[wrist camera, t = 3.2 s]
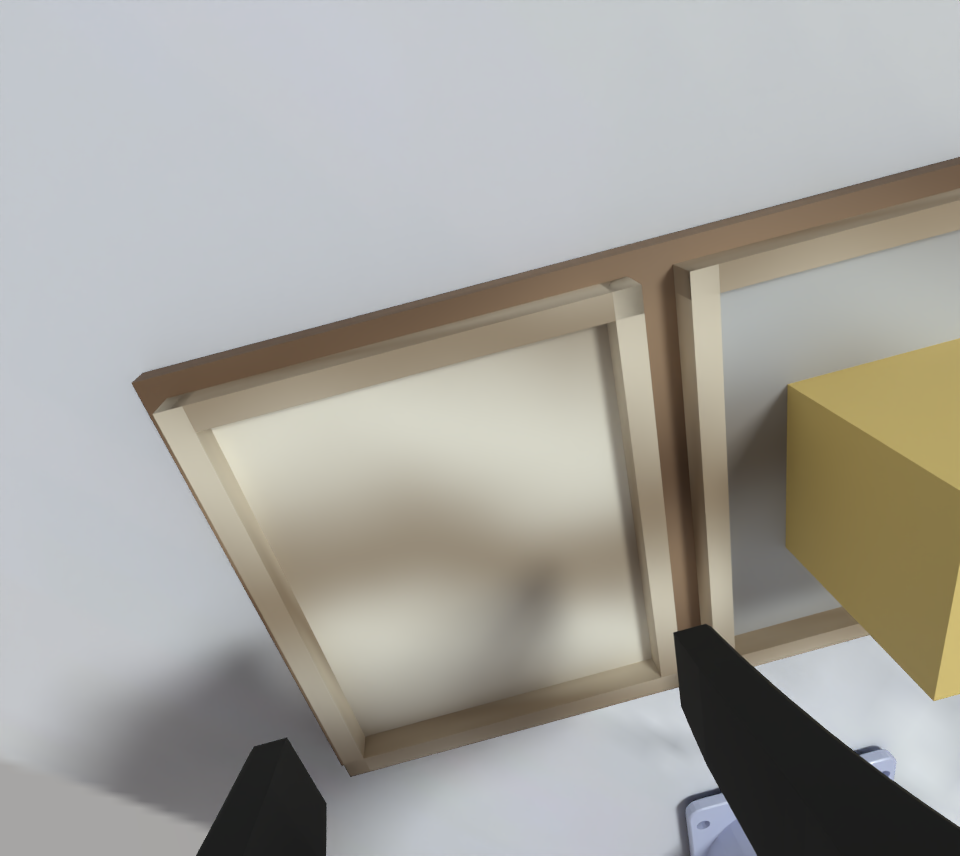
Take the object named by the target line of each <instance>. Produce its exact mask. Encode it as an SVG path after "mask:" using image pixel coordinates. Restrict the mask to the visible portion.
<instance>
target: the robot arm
mask: <svg viewBox="0 0 960 856" xmlns="http://www.w3.org/2000/svg"><path fill="white" fill-rule="evenodd" d="M673 635H674V645H675V654H676V663H677V672H678V681H679V691H680V700H681V707H682V709H683V712H684V714H685V716H686V719H687V721H688V723H689V726H690V728H691V730H692V733H693V735H694V737H695V740H696V742H697V744H698V746H699V749H700V751H701V753H702V755H703V757H704V760H705V762H706V764H707V766H708V768H709V770H710V772H711V773H712V775H713V777H714V779H715V781H716V783H717V784H718V786H719V788H720V790H721V792H722V793H720V794H716V795H713V796H709V797H705V798H702V799H698V800H695V801H693V802H691V803H690V804H689V805H688V806H687V808H686V811H685V812H686V821H687V829H688V837H689V846H690V854H691V856H960V827H959V826H957V825H956V824H954V823H953V822H951V821H950V820H948V819H947V818H945V817H944V816H943V815H941V814H940V813H938V812H937V811H935V810H934V809H932V808H931V807H929V806H928V805H927V804H925V803H924V802H922V801H921V800H919V799H918V798H916V797H915V796H914V795H912V794H911V793H909V792H908V791H907V790H905V789H904V788H903V787H901V786H900V785H898V784H897V783H896V782H894V775H895V768H896V759H895V758H894V757H893V756H892V754H891V753H890V752H889V751H888V750H883V749H881V750H876V751H872V752H868V753H865V754H861V755H858V754H857V753H856V752H854V751H853V750H852V749H851V748H849V747H848V746H847V745H845V744H844V743H843V742H842V741H840V740H839V739H838V738H837V737H835V736H834V735H833V734H832V733H830V732H829V731H828V730H827V729H825V728H824V727H823V726H822V725H820V724H819V723H818V722H817V721H816V720H814V719H813V718H812V717H811V716H810V715H808V714H807V713H806V712H805V711H804V710H802V709H801V708H800V707H799V706H798V705H796V704H795V703H794V702H793V701H792V700H790V699H789V698H788V697H787V696H786V695H785V694H784V693H782V692H781V691H780V690H779V689H778V688H777V687H775V686H774V685H773V684H772V683H771V682H770V681H769V680H768V679H766V678H765V677H764V676H763V675H762V674H761V673H760V672H759V671H758V670H756V669H755V668H754V667H753V666H752V665H751V664H750V663H749V662H748V661H747V660H746V659H744V658H743V657H742V656H741V655H740V654H739V653H738V652H737V651H736V650H735V649H734V648H733V647H732V646H731V645H730V644H729V643H728V642H727V641H726V640H725V639H723V638H722V637H721V636H720V635H719V634H718V633H717V632H716V631H715V630H714V629H713V628H712V627H711V626H709V625H707V624H703V625H699V626H695V627H692V628H688V629H684V630H681V631H677V632H673ZM196 856H326V802H325V800H324V799H323V797H322V795H321V794H320V792H319V790H318V789H317V787H316V785H315V784H314V782H313V780H312V779H311V777H310V775H309V774H308V772H307V770H306V769H305V767H304V765H303V764H302V762H301V760H300V759H299V757H298V755H297V754H296V752H295V750H294V749H293V747H292V745H291V743H290V742H289V740H288V738H284V739H280V740H277V741H273V742H269V743H266V744H262V745H258V746H255V747H254V748H253V749H252V751H251V753H250V755H249V756H248V758H247V760H246V762H245V764H244V766H243V768H242V770H241V772H240V773H239V775H238V777H237V779H236V781H235V783H234V785H233V787H232V789H231V791H230V793H229V795H228V797H227V798H226V800H225V802H224V804H223V806H222V808H221V810H220V812H219V814H218V816H217V817H216V819H215V821H214V823H213V825H212V827H211V829H210V831H209V833H208V835H207V836H206V838H205V840H204V842H203V844H202V846H201V847H200V849H199V851H198V853H197V855H196Z"/></svg>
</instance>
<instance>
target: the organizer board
mask: <svg viewBox="0 0 960 856" xmlns="http://www.w3.org/2000/svg"><path fill="white" fill-rule="evenodd" d="M958 338H960V157H958V158H954V159H950V160H947V161H943V162H939V163H935V164H932V165H928V166H924V167H920V168H916V169H913V170H909V171H905V172H901V173H897V174H894V175H890V176H886V177H882V178H879V179H875V180H871V181H867V182H863V183H860V184H856V185H852V186H848V187H844V188H841V189H837V190H833V191H829V192H826V193H822V194H818V195H814V196H810V197H807V198H803V199H799V200H795V201H792V202H788V203H784V204H780V205H776V206H773V207H769V208H765V209H761V210H757V211H754V212H750V213H746V214H742V215H739V216H735V217H731V218H727V219H723V220H720V221H716V222H712V223H708V224H704V225H701V226H697V227H693V228H689V229H686V230H682V231H678V232H674V233H670V234H667V235H663V236H659V237H655V238H652V239H648V240H644V241H640V242H636V243H633V244H629V245H625V246H621V247H617V248H614V249H610V250H606V251H602V252H599V253H595V254H591V255H587V256H583V257H580V258H576V259H572V260H568V261H565V262H561V263H557V264H553V265H549V266H546V267H542V268H538V269H534V270H530V271H527V272H523V273H519V274H515V275H512V276H508V277H504V278H500V279H496V280H493V281H489V282H485V283H481V284H477V285H474V286H470V287H466V288H462V289H459V290H455V291H451V292H447V293H443V294H440V295H436V296H432V297H428V298H425V299H421V300H417V301H413V302H409V303H406V304H402V305H398V306H394V307H390V308H387V309H383V310H379V311H375V312H372V313H368V314H364V315H360V316H356V317H353V318H349V319H345V320H341V321H337V322H334V323H330V324H326V325H322V326H319V327H315V328H311V329H307V330H303V331H300V332H296V333H292V334H288V335H285V336H281V337H277V338H273V339H269V340H266V341H262V342H258V343H254V344H250V345H247V346H243V347H239V348H235V349H232V350H228V351H224V352H220V353H216V354H213V355H209V356H205V357H201V358H197V359H194V360H190V361H186V362H182V363H179V364H175V365H171V366H167V367H163V368H160V369H156V370H152V371H148V372H145V373H142V374H141V375H140V376H139V377H138V378H137V379H136V380H135V381H133V382H132V385H133V387H134V388H135V390H136V392H137V394H138V396H139V398H140V399H141V401H142V403H143V405H144V407H145V408H146V410H147V412H148V414H149V416H150V418H151V419H152V421H153V423H154V425H155V427H156V428H157V430H158V432H159V434H160V436H161V438H162V439H163V441H164V443H165V445H166V447H167V449H168V450H169V452H170V454H171V456H172V458H173V459H174V461H175V463H176V465H177V467H178V469H179V470H180V472H181V474H182V476H183V478H184V479H185V481H186V483H187V485H188V487H189V489H190V490H191V492H192V494H193V496H194V498H195V499H196V501H197V503H198V505H199V507H200V509H201V510H202V512H203V514H204V516H205V518H206V519H207V521H208V523H209V525H210V527H211V529H212V530H213V532H214V534H215V536H216V538H217V539H218V541H219V543H220V545H221V547H222V549H223V550H224V552H225V554H226V556H227V558H228V559H229V561H230V563H231V565H232V567H233V569H234V570H235V572H236V574H237V576H238V578H239V580H240V581H241V583H242V585H243V587H244V589H245V590H246V592H247V594H248V596H249V598H250V600H251V601H252V603H253V605H254V607H255V609H256V610H257V612H258V614H259V616H260V618H261V620H262V621H263V623H264V625H265V627H266V629H267V630H268V632H269V634H270V636H271V638H272V640H273V641H274V643H275V645H276V647H277V649H278V650H279V652H280V654H281V656H282V658H283V660H284V661H285V663H286V665H287V667H288V669H289V670H290V672H291V674H292V676H293V678H294V680H295V681H296V683H297V685H298V687H299V689H300V690H301V692H302V694H303V696H304V698H305V700H306V701H307V703H308V705H309V707H310V709H311V711H312V712H313V714H314V716H315V718H316V720H317V721H318V723H319V725H320V727H321V729H322V731H323V732H324V734H325V736H326V738H327V740H328V741H329V743H330V745H331V747H332V749H333V751H334V752H335V754H336V756H337V758H338V760H339V761H340V763H341V765H342V766H343V765H344V766H345V768H346V770H347V771H348V773H349V775H350V777H352V776H356V775H359V774H363V773H367V772H370V771H374V770H378V769H381V768H385V767H388V766H392V765H396V764H399V763H403V762H407V761H410V760H414V759H418V758H421V757H425V756H429V755H432V754H436V753H440V752H443V751H447V750H451V749H454V748H458V747H462V746H465V745H469V744H473V743H476V742H480V741H484V740H487V739H491V738H495V737H498V736H502V735H505V734H509V733H513V732H516V731H520V730H524V729H527V728H531V727H535V726H538V725H542V724H546V723H549V722H553V721H557V720H560V719H564V718H568V717H571V716H575V715H579V714H582V713H586V712H590V711H593V710H597V709H601V708H604V707H608V706H612V705H615V704H619V703H623V702H626V701H630V700H633V699H637V698H641V697H644V696H648V695H652V694H655V693H659V692H663V691H666V690H670V689H674V688H677V687H679V681H678V672H677V663H676V654H675V645H674V635H673V632H677V631H681V630H684V629H688V628H692V627H695V626H699V625H703V624H707V625H709V626H711V627H712V628H713V629H714V630H715V631H716V632H717V633H718V634H719V635H720V636H721V637H722V638H723V639H725V640H726V641H727V642H728V643H729V644H730V645H731V646H732V647H733V648H734V649H735V650H736V651H737V652H738V653H739V654H740V655H741V656H742V657H743V658H744V659H746V660H747V661H748V662H749V663H750V664H751V665H752V666H753V667H754V666H758V665H761V664H765V663H769V662H772V661H776V660H780V659H783V658H787V657H791V656H794V655H798V654H802V653H805V652H809V651H813V650H816V649H820V648H824V647H827V646H831V645H835V644H838V643H842V642H846V641H849V640H853V639H857V638H860V637H864V636H867V635H870V634H869V633H868V632H867V631H866V630H865V629H864V628H863V627H862V626H861V625H860V624H859V623H858V622H857V621H856V620H855V619H854V618H853V617H852V616H851V615H850V614H849V613H848V612H847V610H846V609H845V608H844V607H843V606H842V605H841V604H840V603H839V602H838V601H837V600H836V599H835V598H834V597H833V596H832V595H831V594H830V593H829V592H828V591H827V590H826V589H825V588H824V587H823V586H822V584H821V583H820V582H819V581H818V580H817V579H816V578H815V577H814V576H813V575H812V574H811V573H810V572H809V571H808V570H807V569H806V568H805V567H804V566H803V565H802V564H801V563H800V562H799V561H798V560H797V559H796V557H795V556H794V555H793V554H792V553H791V552H790V551H789V550H788V549H787V548H786V467H787V387H788V384H790V383H794V382H798V381H802V380H805V379H809V378H813V377H817V376H820V375H824V374H828V373H832V372H835V371H839V370H843V369H846V368H850V367H854V366H858V365H861V364H865V363H869V362H873V361H876V360H880V359H884V358H888V357H891V356H895V355H899V354H902V353H906V352H910V351H914V350H917V349H921V348H925V347H929V346H932V345H936V344H940V343H943V342H947V341H951V340H955V339H958Z"/></svg>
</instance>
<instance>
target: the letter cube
mask: <svg viewBox="0 0 960 856" xmlns="http://www.w3.org/2000/svg"><path fill="white" fill-rule="evenodd" d="M786 548H787V549H788V550H789V551H790V552H791V553H792V554H793V555H794V556H795V557H796V559H797V560H798V561H799V562H800V563H801V564H802V565H803V566H804V567H805V568H806V569H807V570H808V571H809V572H810V573H811V574H812V575H813V576H814V577H815V578H816V579H817V580H818V581H819V582H820V583H821V584H822V586H823V587H824V588H825V589H826V590H827V591H828V592H829V593H830V594H831V595H832V596H833V597H834V598H835V599H836V600H837V601H838V602H839V603H840V604H841V605H842V606H843V607H844V608H845V609H846V610H847V612H848V613H849V614H850V615H851V616H852V617H853V618H854V619H855V620H856V621H857V622H858V623H859V624H860V625H861V626H862V627H863V628H864V629H865V630H866V631H867V632H868V633H869V634H870V635H871V636H872V637H873V639H874V640H875V641H876V642H877V643H878V644H879V645H880V646H881V647H882V648H883V649H884V650H885V651H886V652H887V653H888V654H889V655H890V656H891V657H892V658H893V659H894V660H895V661H896V662H897V663H898V665H899V666H900V667H901V668H902V669H903V670H904V671H905V672H906V673H907V674H908V675H909V676H910V677H911V678H912V679H913V680H914V681H915V682H916V683H917V684H918V685H919V686H920V687H921V688H922V689H923V690H924V692H925V693H926V694H927V695H928V696H929V697H930V698H931V699H932V700H933V701H936V700H939V699H943V698H947V697H950V696H954V695H958V694H960V338H958V339H955V340H951V341H947V342H943V343H940V344H936V345H932V346H929V347H925V348H921V349H917V350H914V351H910V352H906V353H902V354H899V355H895V356H891V357H888V358H884V359H880V360H876V361H873V362H869V363H865V364H861V365H858V366H854V367H850V368H846V369H843V370H839V371H835V372H832V373H828V374H824V375H820V376H817V377H813V378H809V379H805V380H802V381H798V382H794V383H790V384H788V387H787V467H786Z"/></svg>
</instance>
